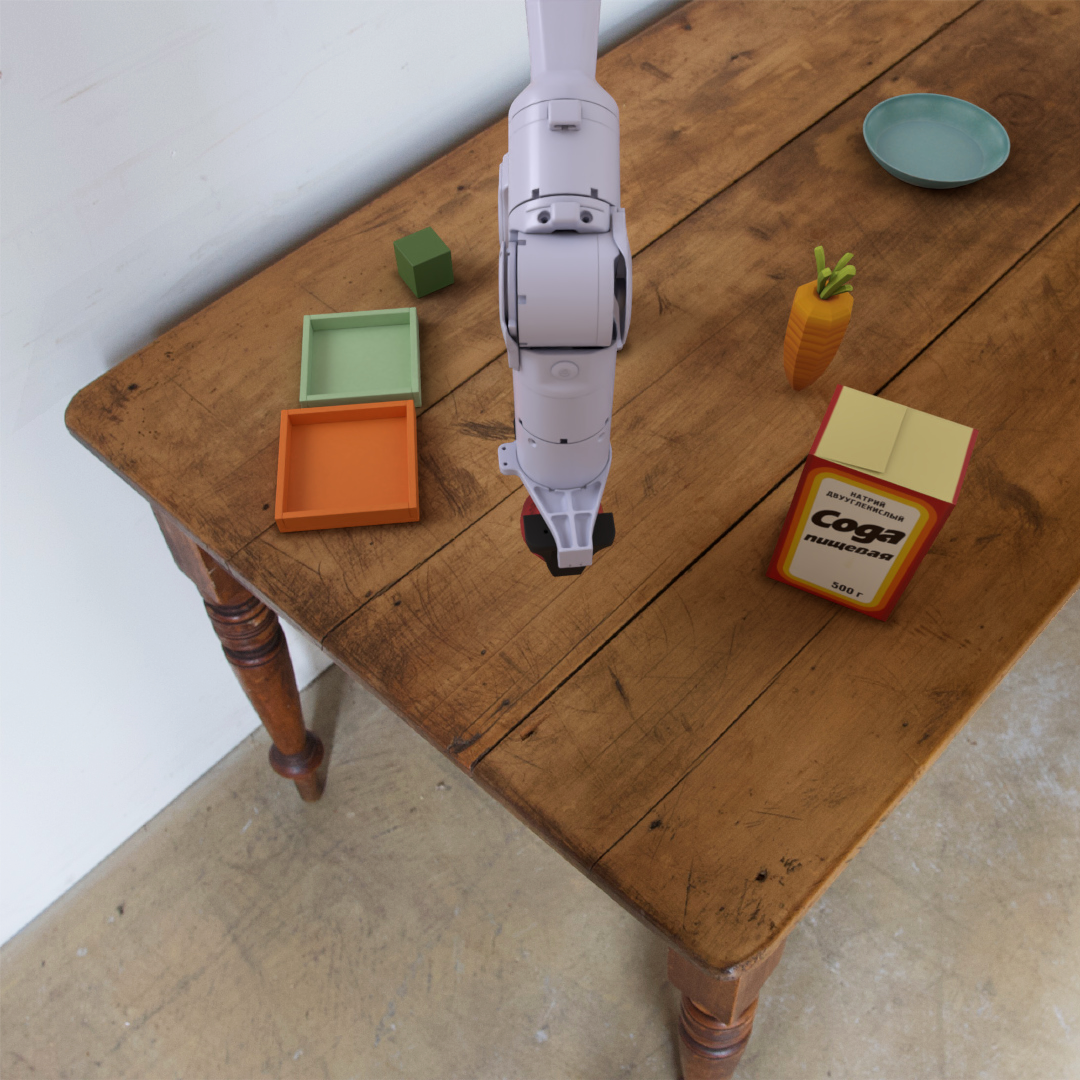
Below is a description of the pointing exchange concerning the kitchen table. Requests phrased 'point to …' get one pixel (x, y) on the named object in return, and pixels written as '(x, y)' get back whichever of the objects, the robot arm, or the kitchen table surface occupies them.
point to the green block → (424, 262)
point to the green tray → (360, 358)
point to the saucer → (935, 140)
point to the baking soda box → (870, 501)
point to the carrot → (817, 322)
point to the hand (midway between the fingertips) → (561, 531)
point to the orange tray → (347, 466)
